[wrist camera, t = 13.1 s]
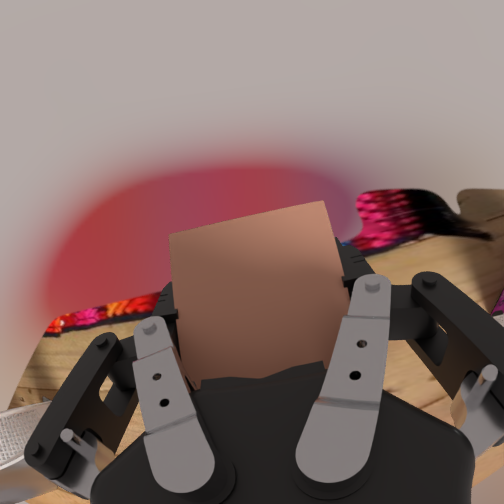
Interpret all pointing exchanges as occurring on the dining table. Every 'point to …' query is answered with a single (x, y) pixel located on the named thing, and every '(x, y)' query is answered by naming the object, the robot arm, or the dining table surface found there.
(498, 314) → the candy bar box
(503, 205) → the dining table surface
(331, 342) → the salmon orange block
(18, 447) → the twisted tower model
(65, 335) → the dining table surface
